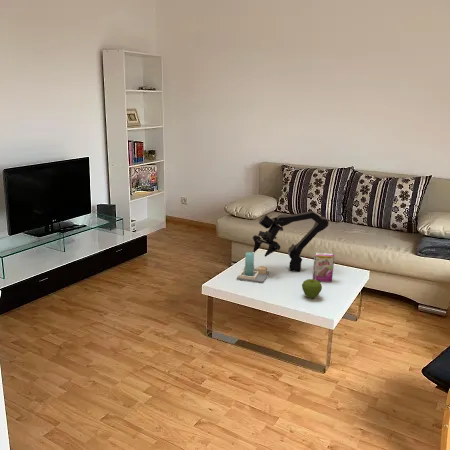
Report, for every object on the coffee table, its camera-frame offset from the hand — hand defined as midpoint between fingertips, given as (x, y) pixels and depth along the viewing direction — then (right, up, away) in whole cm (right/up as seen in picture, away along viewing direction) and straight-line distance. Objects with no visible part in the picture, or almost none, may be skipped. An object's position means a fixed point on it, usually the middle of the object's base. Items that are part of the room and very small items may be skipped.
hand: (259, 254), depth 290 cm
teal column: (-6, -13, -2) cm, 14 cm away
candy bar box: (+37, -15, -3) cm, 40 cm away
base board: (-4, -13, +1) cm, 14 cm away
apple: (+26, -22, -26) cm, 43 cm away
